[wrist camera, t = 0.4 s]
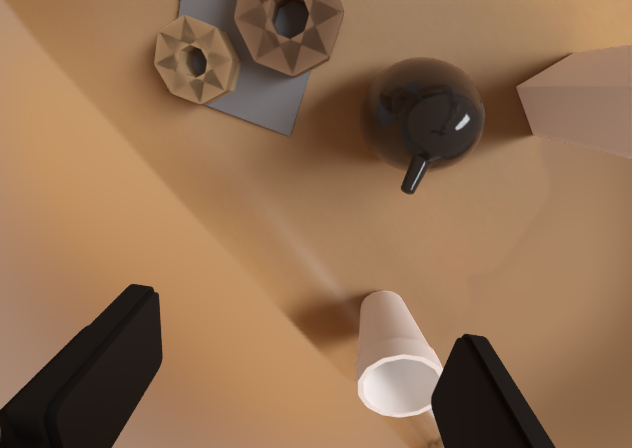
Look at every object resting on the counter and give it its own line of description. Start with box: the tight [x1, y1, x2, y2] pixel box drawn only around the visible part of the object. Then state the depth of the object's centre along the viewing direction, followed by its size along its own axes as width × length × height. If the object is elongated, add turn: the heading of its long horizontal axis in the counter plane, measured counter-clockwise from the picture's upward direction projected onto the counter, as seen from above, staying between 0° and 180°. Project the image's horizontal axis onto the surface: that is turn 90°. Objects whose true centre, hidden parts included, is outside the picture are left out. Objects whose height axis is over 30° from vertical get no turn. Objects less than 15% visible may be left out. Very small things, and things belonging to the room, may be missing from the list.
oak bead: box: [154, 15, 242, 104], centre depth 31 cm, size 7×7×4 cm
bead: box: [234, 0, 344, 77], centre depth 29 cm, size 9×9×4 cm
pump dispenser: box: [360, 57, 486, 195], centre depth 28 cm, size 10×10×15 cm
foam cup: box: [356, 290, 443, 417], centre depth 39 cm, size 10×9×13 cm
